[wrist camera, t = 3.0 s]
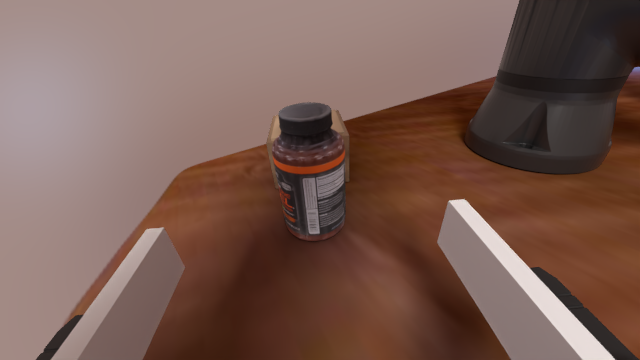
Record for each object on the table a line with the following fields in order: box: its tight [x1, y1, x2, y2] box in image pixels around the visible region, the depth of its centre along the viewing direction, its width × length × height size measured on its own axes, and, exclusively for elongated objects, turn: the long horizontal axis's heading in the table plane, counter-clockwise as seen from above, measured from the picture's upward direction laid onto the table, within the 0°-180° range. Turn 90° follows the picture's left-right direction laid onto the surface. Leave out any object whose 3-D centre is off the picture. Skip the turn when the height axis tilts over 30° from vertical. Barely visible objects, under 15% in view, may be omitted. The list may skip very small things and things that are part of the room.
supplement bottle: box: [272, 103, 346, 241], centre depth 22 cm, size 6×6×11 cm
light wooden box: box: [266, 110, 349, 189], centre depth 32 cm, size 9×9×6 cm
